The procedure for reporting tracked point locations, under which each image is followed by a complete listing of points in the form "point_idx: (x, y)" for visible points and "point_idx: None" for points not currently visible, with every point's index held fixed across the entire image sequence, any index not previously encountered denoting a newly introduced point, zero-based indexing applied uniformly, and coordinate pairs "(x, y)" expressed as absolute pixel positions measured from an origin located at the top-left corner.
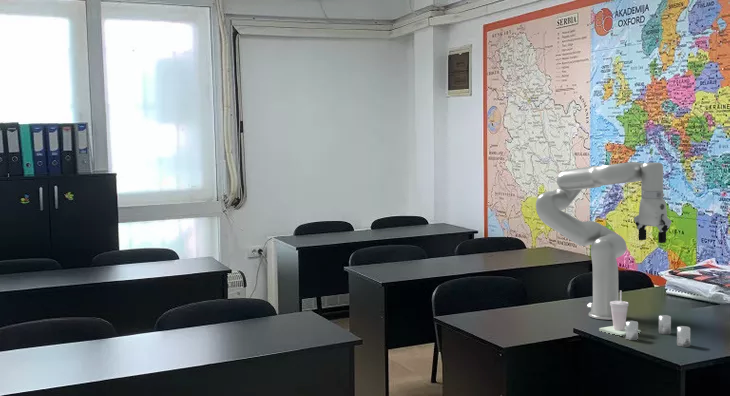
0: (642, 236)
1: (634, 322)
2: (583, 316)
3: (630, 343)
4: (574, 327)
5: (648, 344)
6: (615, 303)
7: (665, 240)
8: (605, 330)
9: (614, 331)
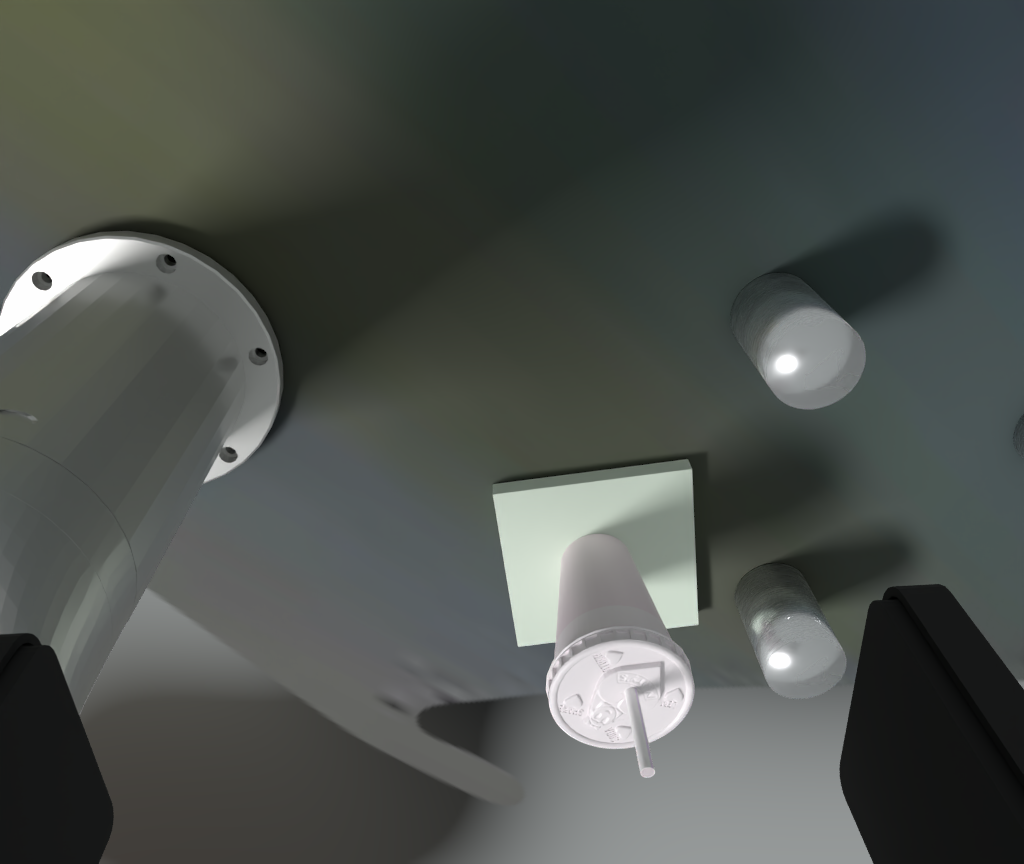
0: (40, 854)
1: (823, 661)
2: None
3: None
4: (379, 697)
5: (903, 581)
6: (630, 731)
7: (962, 638)
8: None
9: None
